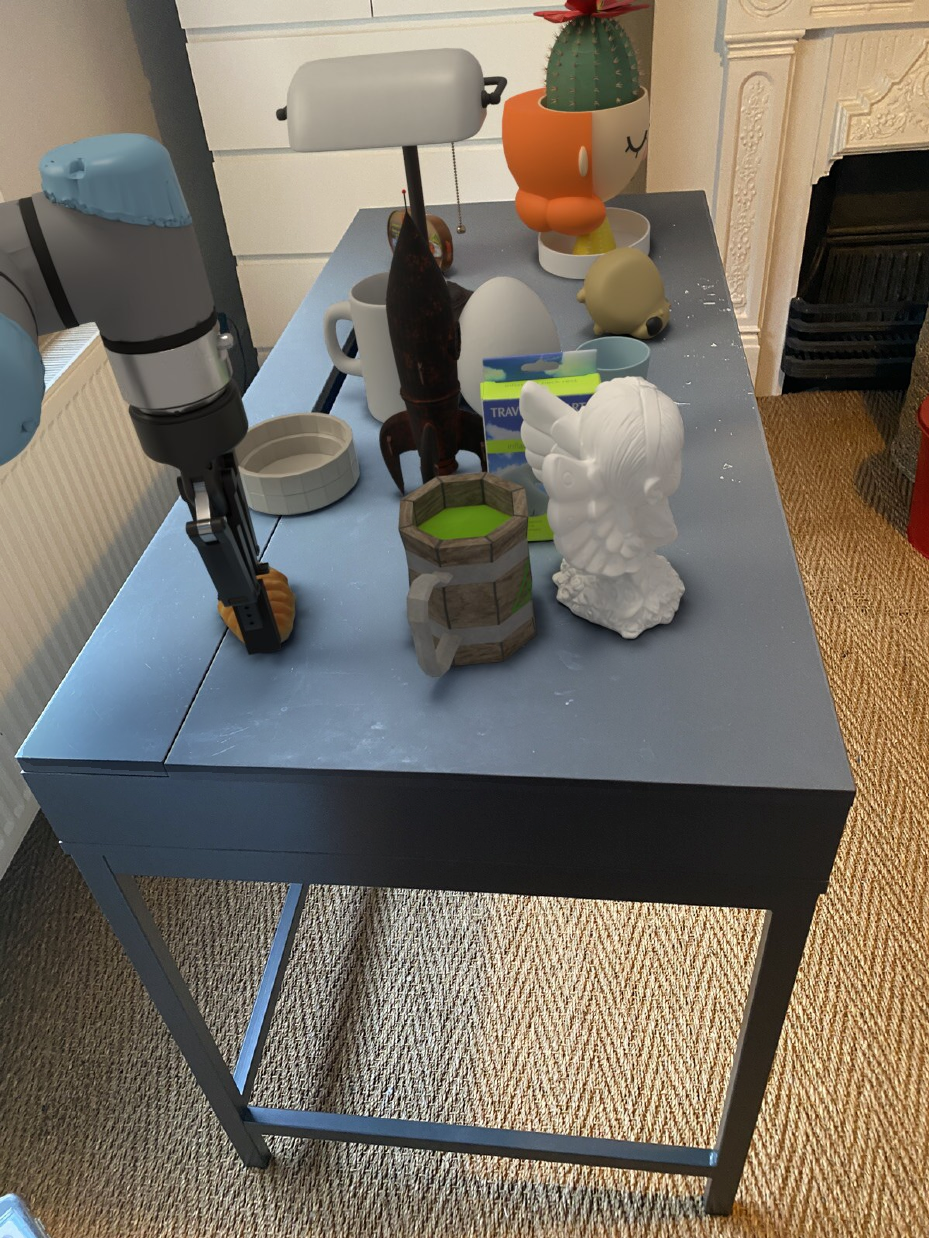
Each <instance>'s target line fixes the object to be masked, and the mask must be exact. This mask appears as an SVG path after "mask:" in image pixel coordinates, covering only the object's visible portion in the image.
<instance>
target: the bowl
mask: <svg viewBox="0 0 929 1238" xmlns="http://www.w3.org/2000/svg"><path fill="white" fill-rule="evenodd" d="M235 452H236V456H237V460H238V464H239V466H238V468H239V472H240V476H241V480H242V484H243V488H244V492H245V496H246V500H247V504H248V508H249V509H251V510H253V511H256V512H260V513H265V514H268V515H276V516H277V515H278V516H292V515H293V516H294V515H299V514H304V513H310V512H313V511H317V510H320V509H323V508H325V507H328V506H330V505H331V504H333V503H335V502H336V501H339V500H340V499H342V497H344V496H346V495H347V494H348V492H350V491H351V490H352V489H353V488H354V487H355V486H356V484H357V483H358V479H359V478H360V475H361V471H360V462H359V458H358V454H357V453H358V452H357V448H356V443H355V439H354V432H353V429H352V427H351V426H350V425H349V424H348V423H347V422H346V420H344V419H342V418H340V417H337V416H335V415H333V414H329V413H323V412H295V413H288V414H281V415H278V416H274V417H271V418H268V419H265V420H262V421H259V422H258V423H256V424H254V425H252V426H250V427H248V431H247V434H246V436H245V438H244V439H243V440H242V442H241V443H240V444H239V445H237V446H236V447H235Z"/></svg>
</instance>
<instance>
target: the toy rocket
mask: <svg viewBox="0 0 929 1238" xmlns="http://www.w3.org/2000/svg"><path fill="white" fill-rule="evenodd" d="M401 193H402V194H403V201H404V209H405V210H406V212H405V215H404V219H403V222H402V226H401V229H400V233H399V236H398V239H397V243H396V246H395V250H394V254H393V253H392V258H391V264H390V268H389V270H390V272H389V278H388V285H387V292H386V299H385V300H386V313H387V320H388V328H389V334H390V339H391V344H392V349H393V353H394V358H395V363H396V367H397V372H398V376H399V380H400V385H401V388H400V394H399V395H401V398H402V400H404V401H405V405H406V409H407V410H405V411H402V412H399V413H396V414H394V415H392V416H391V417H389V418H388V419H387V420H386V421H385V422H384V423H383V422H382V425H381V427H380V429H379V433H378V443H379V444H378V445H379V448H380V453H381V457H382V460H383V462H384V464H385V467H386V469H387V471H388V472H389V474H390V476H391V479H392V481H393V482H394V484H395V485H396V487H397V489H398V490H399V492H400V493H401V495H402V496H403V497H405V495H406V494H405V491H406V490H405V481H404V475H403V470H402V464H401V455H402V454H404V453H408V452H413V451H417V455H418V457H419V459H420V460H419V462H420V463H419V464H420V465H419V470H420V473H421V480H422V486H423V485H424V484H426V483H427V482H429V481H430V480H432V479H434V478H435V477H438V476H448V475H454V474H455V473H456V472H457V471H458V470H459V468H460V464H459V462H458V461H457V459H456V456H457V455H458V453H459V452H460V451H465V452H469V453H473V454H474V455H476V456H477V457H478V459H479V462H480V468H481V472H488V467H487V456H486V445H485V435H484V425H483V416H481V415H479V414H478V413H475V412H472V411H469V410H465V409H461V408H460V407H459V404H460V402H459V401H458V394H459V392H460V393H461V391H460V390H461V388H460V381H459V380H458V366H457V360H459V357H460V352H461V343H462V342H461V327H460V323H459V321H455V319H454V311H453V304H452V299H451V295H450V292H449V291H450V290H449V289H448V286H447V283H446V281H447V280H446V281H445V279H446V278H445V276H444V274H443V272H442V271H441V269H440V267H439V265H438V263H437V261H436V259H435V257H434V255H433V253H432V251H431V250H430V248H429V246H428V244H427V243H426V241H425V239H424V238H423V236H422V234H421V233H420V231H419V229H418V228H417V226H416V224H415V223H414V221H413V220H412V218H411V216H410V215H409V213H408V211H407V208H408V206H407V205H408V204H407V197H406V193H407V191H406V189H404V188H403V189H402V190H401Z"/></svg>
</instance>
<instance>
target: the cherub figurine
mask: <svg viewBox="0 0 929 1238" xmlns="http://www.w3.org/2000/svg"><path fill="white" fill-rule="evenodd" d="M595 392H596V393H595V394H594V395H593V396H592V397H591V398H590V399H589V401H588V402H587V404H586V406H582V407H581V408H580V410H579V411H578V412H577V411H576V410H574V409H573V408H572V407H570V406H569V405H568V404H566V403H565V402H563V401H562V400H561V399H559V398H558V397H557V396H555V395H554V394H552V393H551V392H550V391H548V390H547V389H545V388H544V387H543V386H541V385H539V384H538V383H536V382H533V381H527V382H526V383H525V384H524V385H523V387H522V389H521V394H520V400H519V409H520V413H521V416H522V418H523V420H524V421H523V423H522V426H521V438H522V441H523V444H524V446H525V447H526V450H525V456H526V459H527V462H528V464H529V465H530V466H531V467H532V471H533V473H534V475H535V476H536V478H537V479H538V480H539V481H541V482H542V483H543V486H544V488H545V490H546V492H547V494H548V495H549V497H550V499H549V502H548V508H547V518H548V522H549V526H550V528H551V530H552V531H553V532H554V540H553V544H554V547H555V549H556V551H557V552H558V553H559V554H560V555H561V556H562V557H563V558H562V559H561V563H560V567H559V568H560V569H559V570H560V571H559V572H556V573H554V574H553V575H552V578H551V579H552V582H553V583H554V584H555V586H557V588H558V589H557V594H556V600H557V601H558V602H559V603H562V604H563V605H565V607H567V608H568V609H570V612H571V613H573V614H574V615H576V616H579V618H582V619H584V620H587V621H588V622H591V623H593V624H597V625H600V626H602V627H604V628H606V629H608V630H611V631H614V632H616V633H618V634H620V635H621V636H622V638H624V639H631V640H632V639H636V638H637V637H638V636H639V635H640V634H642V633H643V632H644V631H645V630H648V629H651V628H654V627H655V626H656V625H658V624H663V625H668V624H670V623H671V622H672V621H673V619H674V616H675V613H676V612H677V611H678V610H679V606H680V602H681V598H682V596H683V595H684V593H685V590H686V588H685V585H684V582H683V580H681V578H680V575H679V573H678V572H677V571H676V570H675V569H674V567H672V564H671V562H670V561H668V558H666V557H665V556H664V555H662V554H661V555H660V554H657V552H656V551H654V550H657V549H660V548H662V547H666V546H667V545H671V544H672V543H674V542H676V541H677V539H678V537H679V531H678V528H677V524H676V523H675V521H674V515H673V513H672V510H671V508H670V506H669V496H671V495H673V494H674V493H675V492H676V491H677V490H678V489H679V486H680V484H681V480H682V471H683V459H682V451H683V449H684V443H685V427H684V422H683V419H682V415H681V413H680V410H679V407H678V406H677V404H676V403H675V401H674V400H673V399H672V398H671V397H670V396H668V395H666V394H665V393H664V392H663V391H661V390H659V389H658V386H656V384H654V383H651V382H649V381H648V380H647V379H646V380H644V379H643V378H642V377H629V376H627V377H625V378H614V379H613V380H611V381H610V382H609V381H605V382H602V383H600V384H599V385H598V386H597V387H596V389H595Z"/></svg>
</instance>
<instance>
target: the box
mask: <svg viewBox="0 0 929 1238" xmlns="http://www.w3.org/2000/svg"><path fill="white" fill-rule="evenodd" d="M540 359H542V360H543V361H544V362H557V363H559V367H558V368H556V369H549V370H535V371H523V370H522V369H521V367H522V366H523V365H524V364H529V363H536V361H538V360H540ZM482 363H483V372H484V383H480V396H481V405H482V414H483V416H482V417H483V425H484V435H485V445H486V456H487V467H488V472H489V473H491V474H493V475H496V476H498V477H501V478H503V479H505V480H508V481H510V482H512V483H515V484H517V485H520V486H522V487H524V488H525V494H526V502H527V510H528V530H527V542H535V541H536V542H537V541H554V532H553V531H552V530H551V528H550V526H549V522H548V518H547V508H548V502H549V499H550V497H549V495H548V494H547V492H546V490H545V488H544V486H543V483H542V482H541V481H539V480H538V479H537V478H536V476H535V475H534V473H533V471H532V467H531V466H530V465H529V464H528V462H527V459H526V456H525V450H526V447H525V446H524V444H523V441H522V438H521V426H522V423H523V421H524V420H523V418H522V416H521V413H520V409H519V400H520V394H521V389H522V387H523V385H524V384H525V383H526V382H527V381H533V382H536V383H538V384H539V385H541V386H543V387H544V388H545V389H547V390H548V391H550V392H551V393H552V394H554V395H555V396H557V397H558V398H559V399H561V400H562V401H563V402H565V403H566V404H568V405H569V406H570V407H572V408H573V409H574V410H576V411H577V412H578V411H579V410H580V408H581V407H582V406H586V404H587V402H588V401H589V399H590V398H591V397H592V396H593V395H594V394H595V393H596V392H595V389H596V387H597V386H598V385H599V384H600V383H601V378H600V374H598V372H597V349H592V350H580V351H575V350H568V351H567V350H566V351H561V352H554V353H543V354H530V355H516V356H505V357H492V358H482Z"/></svg>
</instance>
